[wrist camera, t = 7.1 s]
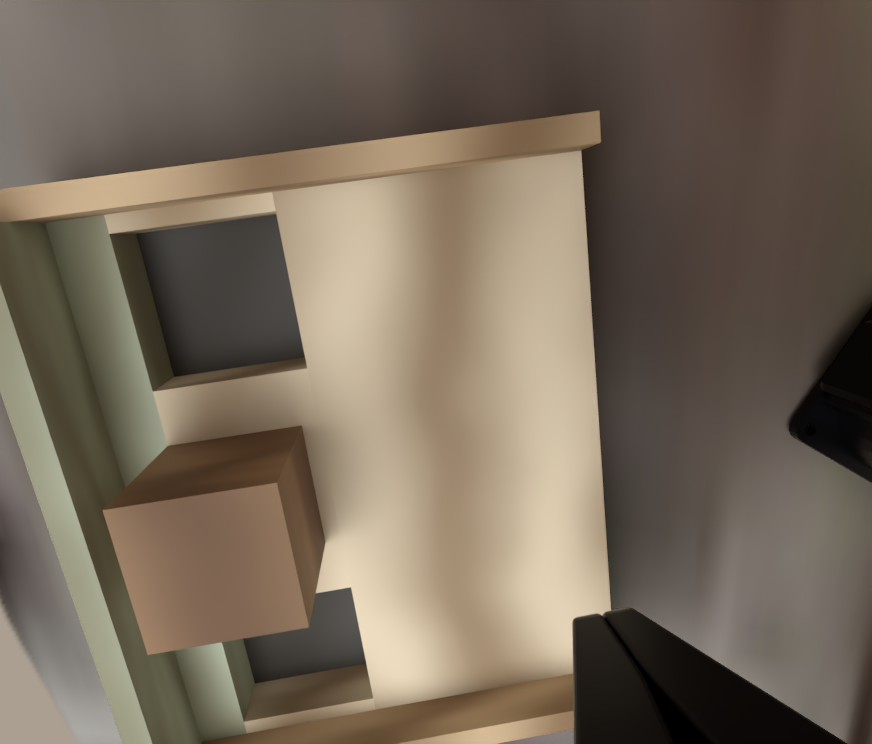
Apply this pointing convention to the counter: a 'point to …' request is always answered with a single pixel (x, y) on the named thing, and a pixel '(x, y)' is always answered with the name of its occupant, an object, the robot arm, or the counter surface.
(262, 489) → the walnut block
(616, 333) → the counter surface
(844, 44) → the counter surface
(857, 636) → the counter surface
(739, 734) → the robot arm
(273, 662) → the trap track
